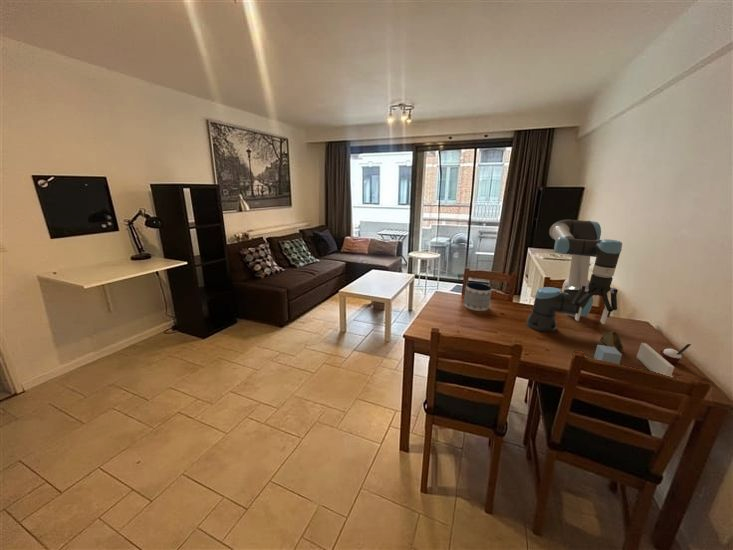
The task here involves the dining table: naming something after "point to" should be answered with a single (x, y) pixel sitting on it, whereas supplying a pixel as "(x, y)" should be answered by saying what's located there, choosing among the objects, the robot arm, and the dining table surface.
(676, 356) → the cocoa
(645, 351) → the board
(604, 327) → the dining table surface
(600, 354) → the block
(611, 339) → the rock
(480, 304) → the planter
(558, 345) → the dining table surface
